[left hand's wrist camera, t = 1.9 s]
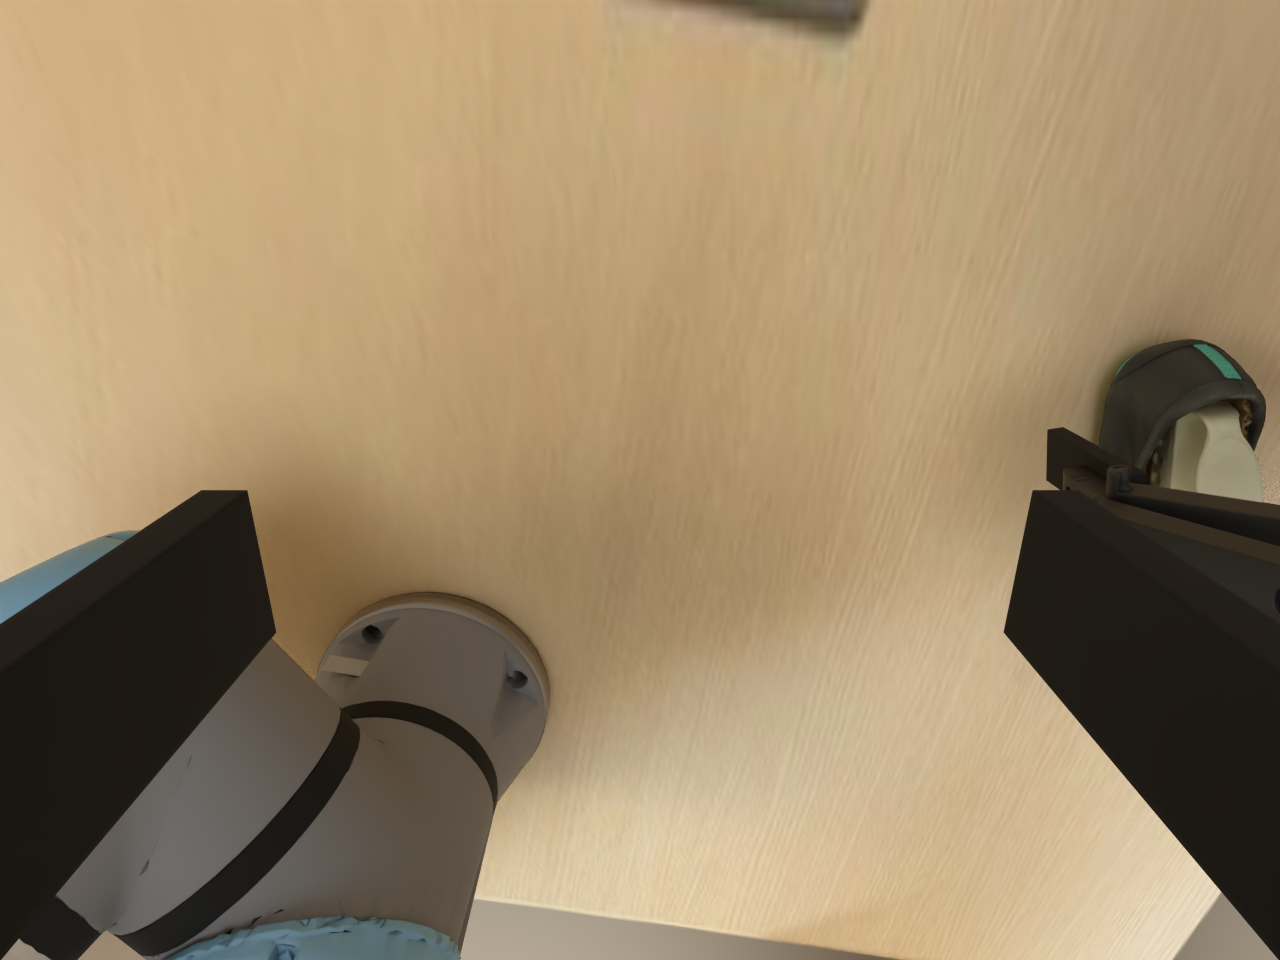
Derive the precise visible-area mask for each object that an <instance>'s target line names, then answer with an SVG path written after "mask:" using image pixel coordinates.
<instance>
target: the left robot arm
mask: <svg viewBox="0 0 1280 960" xmlns="http://www.w3.org/2000/svg"><path fill="white" fill-rule="evenodd" d="M275 633H276V628H275V624H274V619H273V614H272V609H271V604H270V599H269V594H268V589H267V585H266V580H265V575H264V570H263V565H262V560H261V555H260V550H259V545H258V541H257V536H256V531H255V526H254V521H253V516H252V511H251V506H250V502H249V497H248V492H247V490H201V491H200V492H198V493H197V494H195V495H194V496H192V497H191V498H189V499H188V500H186V501H185V502H183V503H182V504H180V505H179V506H177V507H176V508H174V509H173V510H171V511H170V512H168V513H167V514H165V515H164V516H162V517H160V518H159V519H157V520H156V521H154V522H153V523H151V524H150V525H148V526H147V527H145V528H144V529H142V530H141V531H122V532H116V533H112V534H108V535H105V536H102V537H99V538H97V539H94V540H92V541H89V542H87V543H84V544H82V545H80V546H77V547H75V548H73V549H70V550H68V551H66V552H64V553H61V554H59V555H57V556H55V557H53V558H51V559H49V560H47V561H44V562H42V563H40V564H38V565H36V566H34V567H32V568H30V569H27V570H25V571H23V572H21V573H19V574H17V575H15V576H13V577H11V578H9V579H7V580H5V581H3V582H1V583H0V960H78V959H79V957H80V956H81V955H82V954H83V953H84V952H85V951H86V950H87V949H88V948H89V947H90V946H91V945H92V943H93V942H94V941H95V940H96V939H97V938H98V937H99V936H100V935H101V934H102V933H103V932H105V931H106V930H107V931H109V932H110V933H112V934H113V935H115V936H116V937H118V938H119V939H120V940H122V941H123V942H124V943H126V944H127V945H128V946H129V947H131V948H132V949H133V950H135V951H136V952H137V953H138V954H139V955H141V956H142V957H143V958H145V959H146V960H460V959H461V957H460V953H461V949H462V945H463V941H464V936H465V932H466V928H467V924H468V920H469V916H470V911H471V907H472V903H473V899H474V895H475V891H476V886H477V882H478V878H479V874H480V870H481V866H482V861H483V857H484V853H485V849H486V845H487V841H488V836H489V832H490V828H491V824H492V819H493V815H494V811H495V807H496V804H497V802H498V801H499V799H500V798H501V797H502V795H503V794H504V793H505V791H506V790H507V789H508V787H509V786H510V785H511V783H512V782H513V781H514V779H515V778H516V777H517V775H518V774H519V772H520V771H521V770H522V768H523V767H524V766H525V764H526V763H527V762H528V760H529V759H530V758H531V757H532V755H533V754H534V752H535V751H536V749H537V747H538V745H539V743H540V741H541V738H542V735H543V732H544V727H545V722H546V717H547V713H548V707H549V697H550V695H549V684H548V678H547V674H546V671H545V668H544V666H543V663H542V661H541V659H540V657H539V655H538V653H537V651H536V650H535V648H534V647H533V645H532V644H531V643H530V641H529V640H528V639H527V638H526V637H525V635H524V634H523V633H522V632H521V631H520V630H519V629H518V628H517V627H516V626H514V625H513V624H512V623H511V622H509V621H508V620H507V619H505V618H504V617H503V616H501V615H500V614H498V613H496V612H495V611H493V610H491V609H489V608H487V607H485V606H483V605H481V604H479V603H476V602H473V601H471V600H468V599H465V598H461V597H457V596H453V595H447V594H440V593H409V594H403V595H397V596H393V597H390V598H386V599H384V600H381V601H378V602H376V603H374V604H372V605H370V606H368V607H366V608H365V609H363V610H361V611H360V612H359V613H357V614H356V615H355V616H353V617H352V618H351V619H350V620H349V621H348V622H347V623H346V624H345V625H344V627H343V628H342V629H341V630H340V632H339V633H338V634H337V636H336V637H335V639H334V640H333V641H332V643H331V644H330V646H329V647H328V649H327V650H326V652H325V653H324V655H323V657H322V659H321V662H320V664H319V667H318V670H317V674H316V680H315V681H314V680H313V679H312V678H311V677H310V676H309V675H308V674H307V673H306V672H305V671H304V670H303V669H302V668H301V667H300V666H299V665H298V664H297V663H296V662H295V661H294V660H293V659H292V658H291V657H290V656H289V655H288V654H287V653H286V652H285V651H284V650H283V649H282V648H281V647H280V646H279V645H278V644H277V643H276V642H275V641H274V640H273V639H272V637H273V636H274V634H275ZM1004 633H1005V634H1006V636H1007V637H1008V638H1009V639H1010V640H1011V642H1012V643H1013V644H1014V645H1015V646H1016V648H1017V649H1018V650H1019V651H1020V652H1021V654H1022V655H1023V656H1024V657H1025V658H1026V660H1027V661H1028V662H1029V663H1030V664H1031V665H1032V667H1033V668H1034V669H1035V670H1036V671H1037V673H1038V674H1039V675H1040V676H1041V677H1042V679H1043V680H1044V681H1045V682H1046V683H1047V685H1048V686H1049V687H1050V688H1051V689H1052V690H1053V692H1054V693H1055V694H1056V695H1057V696H1058V698H1059V699H1060V700H1061V701H1062V702H1063V704H1064V705H1065V706H1066V707H1067V708H1068V710H1069V711H1070V712H1071V713H1072V714H1073V715H1074V717H1075V718H1076V719H1077V720H1078V721H1079V723H1080V724H1081V725H1082V726H1083V727H1084V729H1085V730H1086V731H1087V732H1088V733H1089V735H1090V736H1091V737H1092V738H1093V739H1094V740H1095V742H1096V743H1097V744H1098V745H1099V746H1100V748H1101V749H1102V750H1103V751H1104V752H1105V754H1106V755H1107V756H1108V757H1109V758H1110V760H1111V761H1112V762H1113V763H1114V764H1115V765H1116V767H1117V768H1118V769H1119V770H1120V771H1121V773H1122V774H1123V775H1124V776H1125V777H1126V779H1127V780H1128V781H1129V782H1130V783H1131V785H1132V786H1133V787H1134V788H1135V789H1136V790H1137V792H1138V793H1139V794H1140V795H1141V796H1142V798H1143V799H1144V800H1145V801H1146V802H1147V804H1148V805H1149V806H1150V807H1151V808H1152V810H1153V811H1154V812H1155V813H1156V814H1157V815H1158V817H1159V818H1160V819H1161V820H1162V821H1163V823H1164V824H1165V825H1166V826H1167V827H1168V829H1169V830H1170V831H1171V832H1172V833H1173V835H1174V836H1175V837H1176V838H1177V839H1178V841H1179V842H1180V843H1181V844H1182V845H1183V846H1184V848H1185V849H1186V850H1187V851H1188V852H1189V854H1190V855H1191V856H1192V857H1193V858H1194V860H1195V861H1196V862H1197V863H1198V864H1199V866H1200V867H1201V868H1202V869H1203V870H1204V871H1205V873H1206V874H1207V875H1208V876H1209V877H1210V879H1211V880H1212V881H1213V882H1214V883H1215V885H1216V886H1217V887H1218V888H1219V889H1220V891H1221V892H1222V893H1223V894H1224V895H1225V896H1226V898H1227V899H1228V900H1229V901H1230V902H1231V904H1232V905H1233V906H1234V907H1235V908H1236V910H1237V911H1238V912H1239V913H1240V914H1241V916H1242V917H1243V918H1244V919H1245V920H1246V921H1247V923H1248V924H1249V925H1250V926H1251V927H1252V929H1253V930H1254V931H1255V932H1256V933H1257V935H1258V936H1259V937H1260V938H1261V939H1262V941H1263V942H1264V943H1265V944H1266V945H1267V946H1268V948H1269V949H1270V950H1271V951H1272V952H1273V954H1274V955H1275V956H1276V957H1277V958H1278V960H1280V624H1279V623H1278V622H1276V621H1275V620H1273V619H1272V618H1270V617H1269V616H1267V615H1266V614H1264V613H1263V612H1261V611H1260V610H1258V609H1257V608H1255V607H1254V606H1252V605H1251V604H1249V603H1248V602H1246V601H1245V600H1243V599H1242V598H1240V597H1239V596H1237V595H1236V594H1234V593H1233V592H1231V591H1230V590H1228V589H1226V588H1225V587H1223V586H1222V585H1220V584H1219V583H1217V582H1216V581H1214V580H1213V579H1211V578H1210V577H1208V576H1207V575H1205V574H1204V573H1202V572H1201V571H1199V570H1198V569H1196V568H1195V567H1193V566H1192V565H1190V564H1189V563H1187V562H1186V561H1184V560H1183V559H1181V558H1180V557H1178V556H1177V555H1175V554H1174V553H1172V552H1171V551H1169V550H1168V549H1166V548H1165V547H1163V546H1162V545H1160V544H1159V543H1157V542H1156V541H1154V540H1153V539H1151V538H1150V537H1148V536H1147V535H1145V534H1144V533H1142V532H1141V531H1139V530H1138V529H1136V528H1135V527H1133V526H1132V525H1130V524H1129V523H1127V522H1126V521H1124V520H1123V519H1121V518H1120V517H1118V516H1116V515H1115V514H1113V513H1112V512H1110V511H1109V510H1107V509H1106V508H1104V507H1103V506H1101V505H1100V504H1098V503H1097V502H1095V501H1094V500H1092V499H1091V498H1089V497H1088V496H1086V495H1085V494H1083V493H1082V492H1080V491H1079V490H1033V492H1032V497H1031V502H1030V506H1029V511H1028V516H1027V521H1026V526H1025V531H1024V536H1023V541H1022V545H1021V550H1020V555H1019V560H1018V565H1017V570H1016V575H1015V580H1014V585H1013V589H1012V594H1011V599H1010V604H1009V609H1008V614H1007V619H1006V624H1005V628H1004Z"/></svg>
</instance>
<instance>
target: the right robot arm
mask: <svg viewBox="0 0 1280 960" xmlns="http://www.w3.org/2000/svg"><path fill="white" fill-rule="evenodd" d="M1146 478H1147V473H1146V472H1144V471H1142V470H1140V469H1139V468H1137V467H1135V466H1133V465H1131V464H1129V463H1128V462H1126V461H1124V460H1122V459H1120V458H1119V457H1117V456H1115V455H1113V454H1111V453H1109V452H1108V451H1106V450H1104V449H1102V448H1100V447H1098V446H1097V445H1095V444H1093V443H1091V442H1089V441H1087V440H1086V439H1084V438H1082V437H1080V436H1078V435H1076V434H1075V433H1073V432H1071V431H1069V430H1067V429H1066V428H1064V427H1061V428H1055V429H1049V430H1048V434H1047V478H1046V480H1047V481H1048V482H1050V483H1051V484H1053V485H1054V486H1055V487H1057V488H1058V489H1060V490H1079V491H1080V492H1082V493H1083V494H1085V495H1086V496H1088V497H1089V498H1091V499H1092V500H1094V501H1095V502H1097V503H1098V504H1100V505H1101V506H1103V507H1104V508H1106V509H1107V510H1109V511H1110V512H1112V513H1113V514H1115V515H1116V516H1118V517H1120V518H1121V519H1123V520H1124V521H1126V522H1127V523H1129V524H1130V525H1132V526H1133V527H1135V528H1136V529H1138V530H1139V531H1141V532H1142V533H1144V534H1145V535H1147V536H1148V537H1150V538H1151V539H1153V540H1154V541H1156V542H1157V543H1159V544H1160V545H1162V546H1163V547H1165V548H1166V549H1168V550H1169V551H1171V552H1172V553H1174V554H1175V555H1177V556H1178V557H1180V558H1181V559H1183V560H1184V561H1186V562H1187V563H1189V564H1190V565H1192V566H1193V567H1195V568H1196V569H1198V570H1199V571H1201V572H1202V573H1204V574H1205V575H1207V576H1208V577H1210V578H1211V579H1213V580H1214V581H1216V582H1217V583H1219V584H1220V585H1222V586H1223V587H1225V588H1226V589H1228V590H1230V591H1231V592H1233V593H1234V594H1236V595H1237V596H1239V597H1240V598H1242V599H1243V600H1245V601H1246V602H1248V603H1249V604H1251V605H1252V606H1254V607H1255V608H1257V609H1258V610H1260V611H1261V612H1263V613H1264V614H1266V615H1267V616H1269V617H1270V618H1272V619H1273V620H1275V621H1276V622H1278V623H1279V624H1280V505H1276V504H1269V503H1263V502H1256V501H1250V500H1243V499H1237V498H1230V497H1223V496H1217V495H1210V494H1204V493H1197V492H1190V491H1184V490H1177V489H1171V488H1164V487H1158V486H1151V485H1146Z"/></svg>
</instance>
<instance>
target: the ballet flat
mask: <svg viewBox="0 0 1280 960" xmlns="http://www.w3.org/2000/svg"><path fill="white" fill-rule="evenodd" d="M1265 413H1266V403H1265V398H1264V396H1263V394H1262V393H1261V392H1260V390H1259V389H1257V387H1256V384H1255V383H1254V381H1253V380H1252V378H1251V377H1250V376H1249V375H1248V374H1247V373H1246V372H1245V371H1244V369H1243V368H1242V367H1241V366H1240V365H1239V364H1238V363H1237V362H1236V361H1235V360H1234V359H1233V358H1232V357H1231V356H1229V354H1227V353H1226V352H1225V351H1224V350H1222V349H1221V348H1219V347H1218V346H1216V345H1213V344H1211V343H1208V342H1205V341H1202V340H1194V339H1187V340H1179V341H1173V342H1168V343H1163V344H1159V345H1155V346H1152V347H1149V348H1147V349H1145V350H1143V351H1141V352H1138V353H1136V354H1134V355H1132V356H1131V357H1129V358H1128V359H1127V360H1126V361H1125V362H1124V363H1123V364H1122V365H1121V367H1120V368H1119V370H1118V371H1117V373H1116V376H1115V379H1114V381H1113V383H1112V384H1111V388H1110V390H1109V392H1108V395H1107V398H1106V403H1105V409H1104V417H1103V422H1102V428H1101V433H1100V440H1099V447H1100V448H1102V449H1104V450H1106V451H1108V452H1109V453H1111V454H1113V455H1115V456H1117V457H1119V458H1120V459H1122V460H1124V461H1126V462H1128V463H1129V464H1131V465H1133V466H1135V467H1137V468H1139V469H1140V470H1142V471H1144V472H1146V473H1147V478H1146V485H1151V486H1158V487H1164V488H1171V489H1177V490H1184V491H1190V492H1197V493H1204V494H1210V495H1217V496H1223V497H1230V498H1237V499H1243V500H1250V501H1256V502H1263V481H1262V474H1261V469H1260V465H1259V462H1258V460H1257V457H1256V455H1255V453H1254V450H1255V448H1256V445H1257V442H1258V439H1259V437H1260V434H1261V432H1262V428H1263V426H1264V421H1265Z"/></svg>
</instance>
